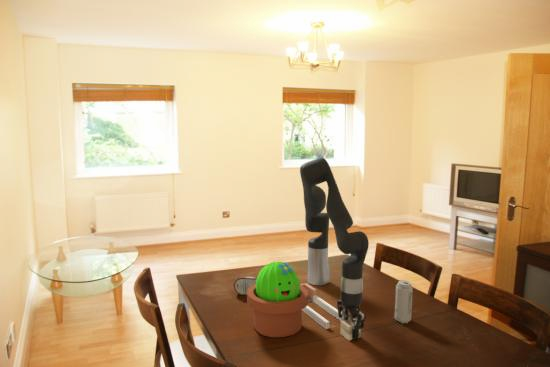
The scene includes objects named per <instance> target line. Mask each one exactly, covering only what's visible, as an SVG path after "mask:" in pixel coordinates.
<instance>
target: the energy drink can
mask: <svg viewBox="0 0 550 367" xmlns="http://www.w3.org/2000/svg"><path fill="white" fill-rule="evenodd" d="M412 285H413V284H412V282H411V281H409V280H401V279H400V280H398V281H397V284H396V285H395V298H394V299H395V300H394V301H395V302H394V319H395V320H397V321H399V322H401V323H400V324H404V323H406V324H409V323H410V321H412V309H413V308H412V306H413V290H414V288H413V286H412ZM397 321H396V322H397ZM399 322H398V323H399ZM408 322H409V323H408Z"/></svg>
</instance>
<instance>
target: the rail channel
mask: <svg viewBox="0 0 550 367" xmlns="http://www.w3.org/2000/svg"><path fill="white" fill-rule="evenodd" d="M300 284H301V285H302V286H303V287H305V288H306V289H307V291H308V303H311V302H313V303H314V304H316V305H317V306H318V307H319V308H322V309H323V310H324V311H325V312H327V313H328V314H330V315H331V316H333V317H334V318H335V317H336V319H337V320H338V319H339V320H338V321H340V322H341V321H342V320H341V318H339V316H338V308H336V307H334V306H333V305H331V304H330V303H328V302H327V301H325V300H324V299H322V297H319V296H318V295H317V288H315V287H313V285H311V284H310V283H308V282H305V283H300ZM302 312H303V313H305V315H307V316H308V317H310V318H311V319H312V320H313V321H315V322H316V323H317V324H318V325H320V326H321V327H322V328H324V329H325V330H327V329H330V320H328V319H326V318H325V317H323V315H321V314H319V312H317V311H315V310H314V309H313V308H312V307H311V306H309V305H307V306H306V307H305V308H304V309H302ZM342 312H343V311H341V314H342Z"/></svg>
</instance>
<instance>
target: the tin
mask: <svg viewBox="0 0 550 367" xmlns="http://www.w3.org/2000/svg"><path fill="white" fill-rule="evenodd" d="M257 277H258V275H247V274H243V275H239V276H237V277H236V278H235V280H234V282H233V289H234V291H235V292H236V293H237V294H239V295H241V296H247V290H248V288H249V287H251V286H252V285H254V284H256V280H257Z"/></svg>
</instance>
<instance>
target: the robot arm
mask: <svg viewBox="0 0 550 367" xmlns="http://www.w3.org/2000/svg"><path fill="white" fill-rule="evenodd" d="M299 174H300V179H301V183H302V184H301V185H302V189H303V204H304V210H305V214H304V215H305V221H304V223H305V229H306V230H307V232H310V233H321V234H319V235H318V236H316V237H312V238H310V239H308V244H307V247H308V248H307V284H309V285H311V286H324V285H326V284H328V283H330V262H329V230H330V223H331V225H332V226H333V229H334V234H335V239H336V240H335V241H336V245H337V249H339V251H340V252H341V253H343V254H344V255H349V256H348V257H346V258H345V259H344V260H343V261H342V264H341V280H340V295H339V296H340V298H339V299H340V300H337V301H336V302H337V306H336V307H337V310H338V316H339V318H341V320H342V321H343V320H347V319H350V322H351V323H352V328H353V329H352V338H353V340H356V339H357V340H358V339H359V338H358V337H359V329H361V330H362V329H364V327H365V322H366V318H367V315H366V313H363V312H361V304H363V294H364V293H363V291H364V290H363V286H364V281H363V270H364V268H363V265H364V264H365V259H366V256H367V254H368V251H369V244H370V243H369V238H368V236H367V235H366V233H365V232H363V231H360V230H358V231H351V232H348V230H349V229H350V228H351V227H352V226H354V220H353V218H352V216H351V214H350V212H349V211H348V208H347V207H346V204H345V203H344V200H343V197H342V195H341V193H340V190H339V187H338V183H337V181H336V178H335V177H334V173H333V171H332V169H331V166H330V164H329V163H328V161H327V160H326V159H325V158H324V157H318V158H315V159H313V160H310V161H307V162H305V163H303V164H301V165H300V168H299ZM325 182H326V184H327V188H328V189H327V195H326V192H325V191H324V189H323V188H322V187H320V186H319V184H322V183H325ZM325 209H326V212H324V210H325ZM341 312H342V314H341ZM355 322H356V325H355ZM360 324H361V325H360Z"/></svg>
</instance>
